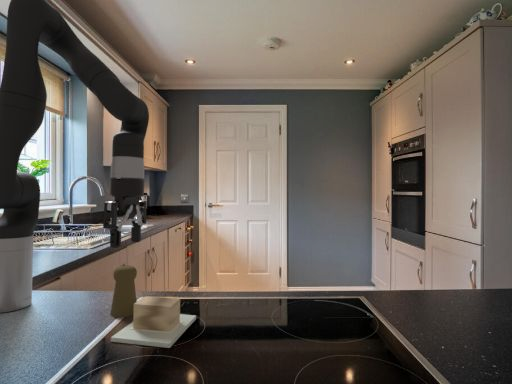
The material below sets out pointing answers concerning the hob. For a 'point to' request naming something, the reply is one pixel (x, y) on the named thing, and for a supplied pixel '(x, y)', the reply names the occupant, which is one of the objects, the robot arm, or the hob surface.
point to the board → (154, 334)
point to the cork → (124, 292)
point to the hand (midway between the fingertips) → (126, 244)
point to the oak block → (156, 313)
